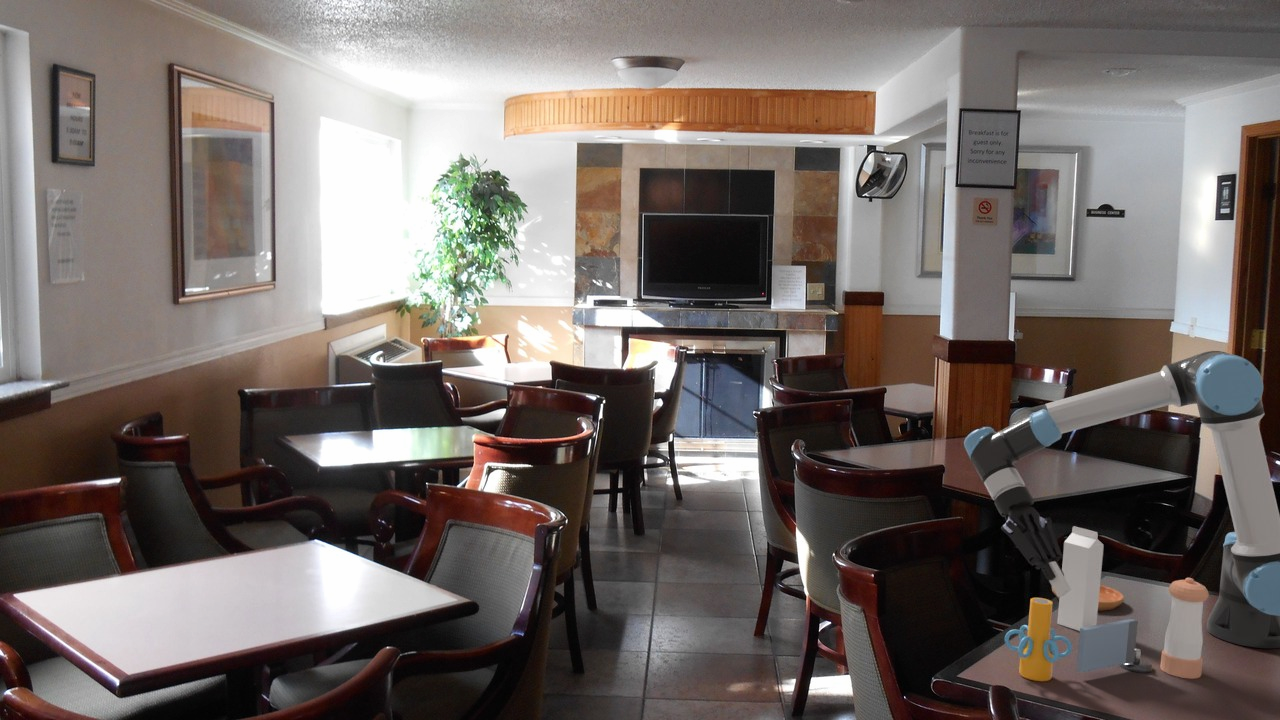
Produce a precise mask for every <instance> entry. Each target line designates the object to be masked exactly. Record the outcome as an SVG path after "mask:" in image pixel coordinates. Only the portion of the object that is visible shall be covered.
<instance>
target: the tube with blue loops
mask: <svg viewBox="0 0 1280 720" xmlns="http://www.w3.org/2000/svg"><path fill="white" fill-rule="evenodd" d="M1052 615H1053V601H1052V600H1050V599H1047V598H1043V597H1032V598H1030V601H1029V612H1028V625H1027V624H1023V625H1021V626H1020V628H1019V629H1016V628H1015V629H1010V630H1009V631H1007V632H1006V634H1005V636H1004V643H1005V645H1006V646H1007V648H1009V650H1012V651H1015V652H1018V655H1019V668H1018V672H1019V675H1020V676H1021V677H1023V678H1024V679H1027V680H1031V681H1035V682H1048V681H1050V680H1052V678H1053V668H1054V667H1053V665H1054V663H1055V662H1057V661H1058V658H1061V659H1062V658H1066V657H1068V656H1069V655H1070V654H1071V653H1072V650H1073V646H1072V642H1071V641H1070V640H1069V639H1068V638H1067V637H1065V636H1062V635H1057V634H1056V630H1054V629H1053V628H1051V625H1052V617H1053V616H1052ZM1025 630H1026V631H1027V633H1025ZM1014 634H1016V635H1017V634H1018V637H1019V643H1018V644H1019V645H1018V646H1015V645H1012V644H1011V643H1010V637H1011V636H1012V635H1014ZM1026 634H1027V635H1026ZM1050 637H1051V638H1050ZM1056 641H1063V642H1064V643H1065V644H1066V646H1067V649H1066V651H1065V652H1062V653H1060V652H1059V648H1058V645H1057V643H1056Z"/></svg>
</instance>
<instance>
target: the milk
mask: <svg viewBox="0 0 1280 720" xmlns="http://www.w3.org/2000/svg"><path fill="white" fill-rule="evenodd" d="M1071 529H1072V530H1071V533H1070V534H1069V536H1068V537H1067V538H1065V540H1064V542H1063V552H1062V553H1063V554H1062V564H1061V565H1062V567H1061V570H1062V571H1063V573H1064V577H1065V579H1066V581H1067V583H1068V584H1069V586H1070V588H1071V591H1069V592H1068V593H1067V594H1065V595H1064V596H1060V598H1058V600H1059V601H1058V602H1059V603H1058V611H1057V625H1060V626H1063V627H1066V628H1069V629H1072V630H1075V631H1078V632H1080V628H1083V627H1089V626H1094V625H1098V623H1097V622H1098V611H1099V610H1098V602H1099V591H1100V585H1101V579H1102V568H1103V567H1102V566H1103V557H1104V544H1103V543H1102V542H1101V541H1100V540H1099V539H1098V535H1099V534H1098V531H1094V530H1090V529H1087V528H1083V527H1078V526H1075V525H1074V526H1072V528H1071Z"/></svg>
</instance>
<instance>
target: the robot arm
mask: <svg viewBox="0 0 1280 720" xmlns="http://www.w3.org/2000/svg"><path fill="white" fill-rule="evenodd" d="M1263 392H1264V382H1263V377H1262V375H1261V373H1260V371H1259V370H1258V368H1256V367H1255V365H1254V364H1253V363H1252V362H1251V361H1250V360H1248V359H1246V358H1244V357H1242V356H1239V355H1236V354H1233V353H1229V352H1226V351H1220V350H1211V351H1204V352H1201V353H1197V354H1195V355H1193V356H1190V357H1187V358H1185V359H1182V360H1181V359H1180V360H1178V361H1176V362H1172V363H1168V364H1165V365H1163V366H1162V368H1161V369H1160V371H1157V372H1154V373H1149V374H1147V375H1143V376H1140V377H1136V378H1132V379H1129V380H1125V381H1122V382H1119V383H1115V384H1110V385H1107V386H1104V387H1101V388H1098V389H1094V390H1090V391H1087V392H1083V393H1082V392H1081V393H1079V394H1075V395H1073V396H1069V397H1065V398H1062V399H1058V400H1055V401H1051V402H1048V403H1045V404H1041V405H1036V406H1033V407H1022V408H1019V409H1016V410H1015V411H1014V412H1013V413H1012V414H1011V416H1010V418H1009V422H1008V426H1007V427H1005V428H1003V429H1001V430H998V431H995V429H994V428H992V427H991V426H982V427H981V428H977V429H975V430H972V431H971V432H970V433H969V434H968V435H967V436H965V438H964V441H963V445H964V448H965V451H966V452H967V455H968V458H969V460H970V462H971V463H972V464H973V467H974V468H975V470H976V472H977V474H978V475H979V477H980V480H981V481H982V483H983V485H984V486H985V488H986V490H987V492H988V493H989V496H990V497H991V499H992V501H994V502H993V503H994V505H995V507H996V509H997V511H998V513H999V514H1000V516H1001V517H1002V518H1005V519H1004V520H1005V521H1006V522H1005V523H1004V524H1003V525H1002V526H1001V527H1000V529H1001V531H1002V532H1003V533H1005V535H1007V536H1008V537H1009V538H1010V540H1011V542H1012V543H1013V544H1014V546H1016V548H1017V549H1018V551H1020V553H1021V555H1022V556H1023V557H1024V558H1025V560H1026V561H1027V562H1028V564H1029V565H1031V566H1032V567H1033V566H1034V568H1035V569H1036V570H1040V569H1041V572H1042V573H1043V575H1044V577H1045V579H1046V580H1047V581H1048V582H1049V583H1050V585H1051V588H1052V587H1053V589H1054V591H1055V593H1056V594H1057V596H1058V597H1060V596H1064V595H1065V594H1067V593H1068V592H1069V591H1071V588H1070V586H1069V584H1068V583H1067V581H1066V579H1065V577H1064V573H1063V571H1062V567H1061V566H1060V564H1059V563H1058V561H1060V560H1061V559H1063V554H1062V552H1061V551H1062V550H1061V549H1060V546H1059V543H1058V540H1057V537H1056V535H1055V531H1054V529H1053V524H1052V518H1051V517H1049V516H1048V517H1046V518H1044V517H1042V516H1040V513H1039V512H1038V511H1037V509H1035V508H1034V504H1035V500H1034V499H1033V496H1032V495H1031V493H1030V491H1029V489H1028V488H1027V487H1026V483H1025V481H1024V480H1023V478H1022V476H1021V475H1020V473H1019V470H1018V469H1017V468H1016V467H1015V465H1014V463H1017V462H1019V461H1020V460H1023V459H1024V458H1026V457H1028V456H1030V455H1033V454H1034V453H1036V452H1039V451H1040V450H1042V449H1045V448H1046V447H1050V446H1051V445H1052V444H1054V443H1056V442H1057V441H1059V440H1061V439H1062V436H1063V434H1065V433H1069V432H1070V433H1071V432H1073V431H1077V430H1082V429H1084V428H1089V427H1091V426H1096V425H1099V424H1104V423H1107V422H1111V421H1114V420H1118V419H1122V418H1126V417H1129V416H1134V415H1137V414H1141V413H1144V412H1148V411H1151V410H1156V409H1158V408H1162V407H1163V408H1164V407H1168V406H1170V405H1172V406H1175V407H1177V408H1181V407H1184V406H1189V405H1197V411H1198V413H1199V415H1198V416H1199V418H1200V423H1201V424H1202V425H1203V426H1204V427H1206V428H1208V429H1210V431H1211V434H1212V439H1213V443H1214V447H1215V453H1216V455H1217V459H1218V460H1217V461H1218V464H1219V468H1220V472H1221V477H1222V481H1223V486H1224V489H1225V494H1226V498H1227V503H1228V506H1229V511H1230V516H1231V521H1232V523H1233V524H1232V525H1233V528H1234V531H1231V532H1228V533H1227V534H1226V535H1225V538H1224V543H1223V545H1222V546H1223V553H1222V563H1221V572H1220V581H1219V582H1220V584H1219V592H1218V593H1219V594H1218V598H1217V600H1216V602H1215V603H1214V606H1213V608H1212V609H1211V612H1210V614H1209V616H1208V618H1207V622H1206V630H1207V632H1208V633H1209V634H1210V635H1212V636H1214V637H1215V638H1217V639H1221V640H1223V641H1226V642H1228V643H1231V644H1234V645H1235V644H1236V645H1239V646H1244V647H1250V648H1255V649H1256V648H1258V649H1279V648H1280V512H1279V507H1278V503H1277V499H1276V495H1275V491H1274V486H1273V482H1272V476H1271V474H1270V473H1271V472H1270V468H1269V465H1268V461H1267V457H1266V456H1267V455H1266V450H1265V446H1264V442H1263V438H1262V434H1261V431H1260V426H1259V422H1260V421H1261V419H1263V417H1264V416H1265V410H1264V404H1263V400H1262V396H1263ZM1057 596H1056V597H1057ZM1058 597H1057V598H1058Z"/></svg>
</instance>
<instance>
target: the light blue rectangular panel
mask: <svg viewBox="0 0 1280 720" xmlns="http://www.w3.org/2000/svg"><path fill="white" fill-rule="evenodd" d="M1138 622H1139V621H1138V620H1137V619H1134V618H1128V619H1123V620H1117V621H1113V622H1111V621H1110V622H1106V623H1100V624H1096V625H1094V626H1089V627H1083V628H1080V631H1079V636H1078V646H1077V647H1078V648H1077V657H1076V658H1077V659H1076V667H1075V668H1076V670H1075V671H1077V672H1079V673H1080V674H1081V673H1082V674H1083V673H1086V672H1091V671H1095V670H1097V671H1098V670H1101V669H1105V668H1111V667H1115V666H1120V665H1121V664H1127V663H1131V662H1134V656H1135V648H1136V644H1137V636H1138V635H1137V633H1138V624H1139V623H1138Z"/></svg>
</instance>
